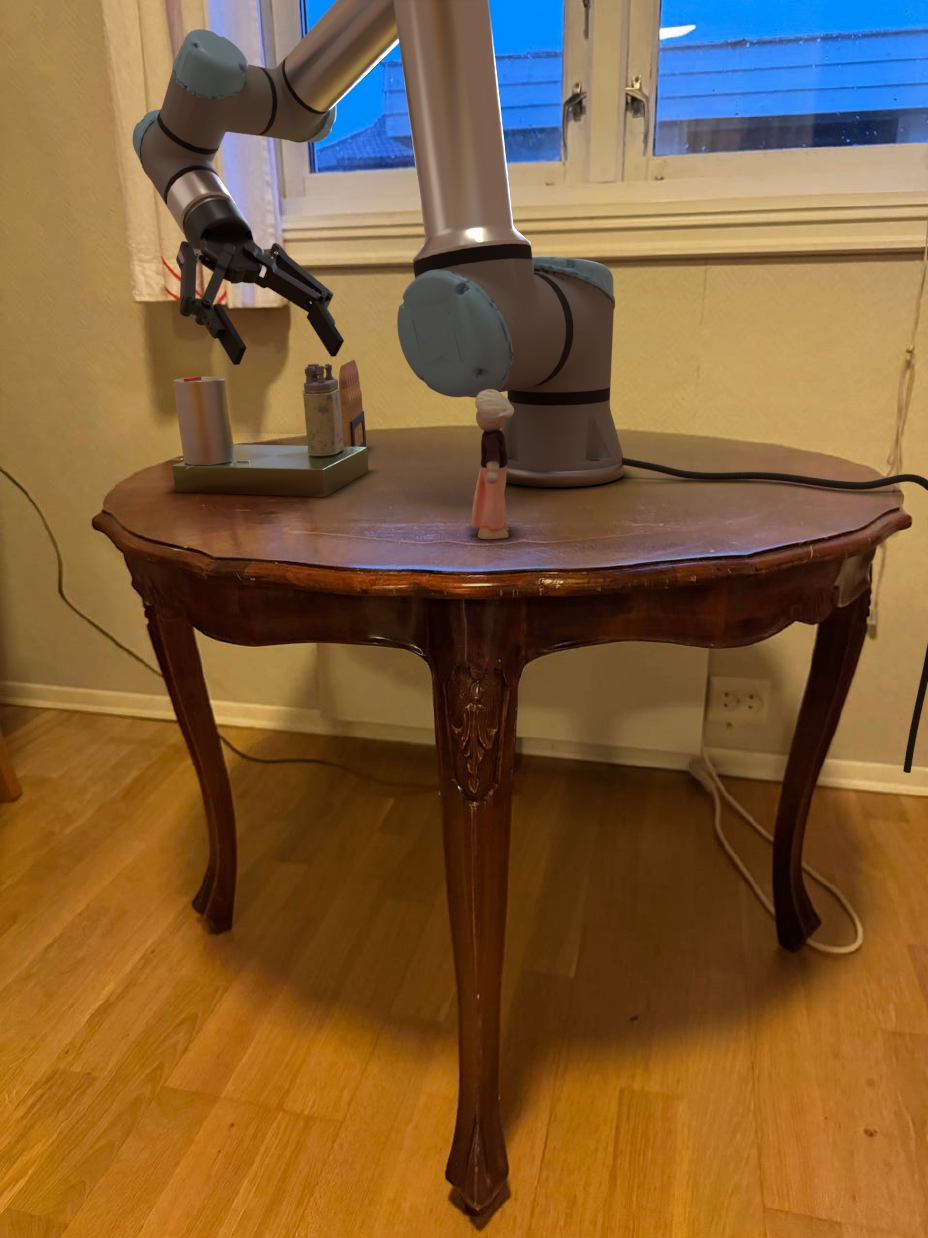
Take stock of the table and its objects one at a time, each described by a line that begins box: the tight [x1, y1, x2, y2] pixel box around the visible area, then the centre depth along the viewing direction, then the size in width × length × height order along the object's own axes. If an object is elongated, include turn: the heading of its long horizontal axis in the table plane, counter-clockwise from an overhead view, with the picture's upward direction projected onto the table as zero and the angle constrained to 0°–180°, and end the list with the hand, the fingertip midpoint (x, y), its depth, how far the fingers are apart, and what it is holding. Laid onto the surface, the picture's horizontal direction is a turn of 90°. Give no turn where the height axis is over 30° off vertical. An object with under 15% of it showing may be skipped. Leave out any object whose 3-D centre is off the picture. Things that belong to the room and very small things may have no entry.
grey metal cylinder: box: [172, 375, 235, 465], centre depth 98 cm, size 6×6×9 cm
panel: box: [169, 443, 370, 498], centre depth 102 cm, size 20×16×3 cm
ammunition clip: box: [338, 359, 368, 448], centre depth 116 cm, size 11×2×12 cm, turn 178°
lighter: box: [302, 363, 344, 456], centre depth 102 cm, size 7×4×10 cm, turn 176°
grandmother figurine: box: [470, 389, 514, 540], centre depth 76 cm, size 8×4×13 cm, turn 5°
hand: (291, 352), depth 103 cm, fingers open, 13 cm apart
